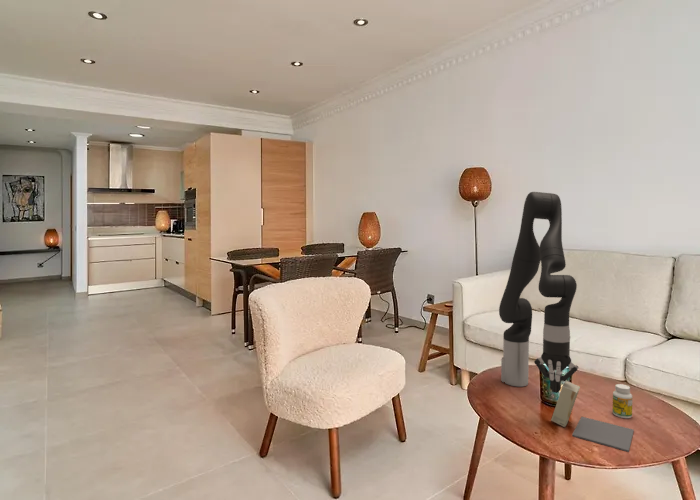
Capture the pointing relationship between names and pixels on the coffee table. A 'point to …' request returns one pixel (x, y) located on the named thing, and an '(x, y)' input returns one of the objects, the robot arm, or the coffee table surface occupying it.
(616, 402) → the supplement bottle
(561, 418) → the skincare box
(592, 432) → the mat
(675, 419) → the coffee table surface
